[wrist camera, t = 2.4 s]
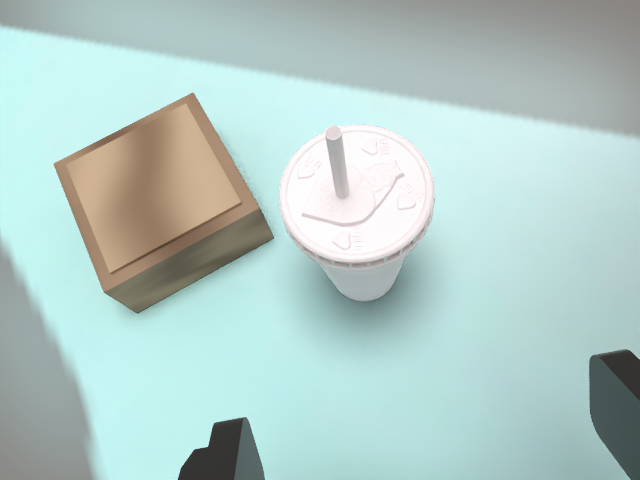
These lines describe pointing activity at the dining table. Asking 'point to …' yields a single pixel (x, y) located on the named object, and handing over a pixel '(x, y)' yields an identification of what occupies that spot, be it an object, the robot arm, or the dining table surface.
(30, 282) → the dining table surface
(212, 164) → the base
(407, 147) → the smoothie
